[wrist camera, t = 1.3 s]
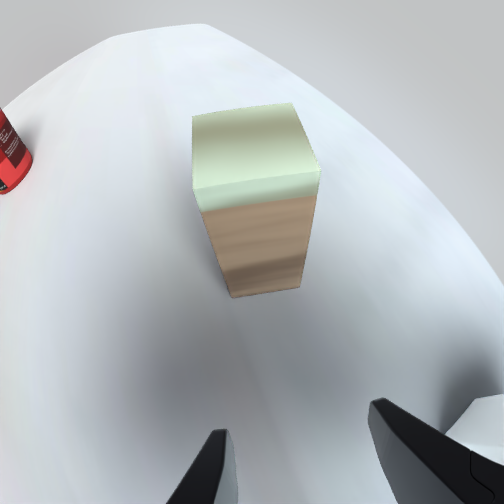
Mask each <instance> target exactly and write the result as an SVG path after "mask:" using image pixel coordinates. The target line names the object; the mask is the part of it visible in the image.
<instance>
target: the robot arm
mask: <svg viewBox="0 0 504 504" xmlns="http://www.w3.org/2000/svg"><path fill="white" fill-rule="evenodd" d="M368 425H369V428H370V431H371V435H372V438H373V441H374V444H375V448H376V451H377V454H378V458H379V461H380V464H381V466H382V469H383V471H384V473H385V476H386V478H387V480H388V482H389V484H390V487H391V489H392V491H393V493H394V496H395V498H396V500H397V503H398V504H504V465H501V464H499V463H497V462H494V461H492V460H490V459H488V458H486V457H484V456H482V455H480V454H478V453H476V452H475V451H473V450H471V451H470V449H469V448H467V447H466V446H464V445H462V444H460V443H458V442H457V441H455V440H453V439H452V438H450V437H448V436H446V435H445V434H443V433H441V432H440V431H438V430H436V429H435V428H433V427H431V426H430V425H428V424H426V423H425V422H423V421H421V420H420V419H418V418H416V417H415V416H413V415H411V414H410V413H408V412H407V411H405V410H403V409H402V408H400V407H399V406H397V405H395V404H394V403H392V402H391V401H389V400H388V399H386V398H379V399H376V400H373V401H371V403H370V407H369V413H368ZM166 504H238V486H237V476H236V465H235V454H234V447H233V443H232V440H231V437H230V435H229V432H228V430H227V429H217V430H213V431H212V432H211V434H210V435H209V437H208V439H207V440H206V442H205V444H204V445H203V447H202V449H201V450H200V452H199V453H198V455H197V457H196V458H195V460H194V461H193V463H192V464H191V466H190V468H189V469H188V471H187V472H186V474H185V475H184V477H183V479H182V480H181V482H180V483H179V485H178V486H177V488H176V489H175V491H174V492H173V494H172V495H171V497H170V498H169V500H168V501H167V503H166Z"/></svg>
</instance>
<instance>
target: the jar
mask: <svg viewBox="0 0 504 504" xmlns="http://www.w3.org/2000/svg"><path fill="white" fill-rule="evenodd" d="M445 435H446V436H448V437H450V438H452V439H453V440H455V441H457V442H458V443H460V444H462V445H464V446H466V447H467V448H469V449H470V451H471V450H473V451H475V452H476V453H478V454H480V455H482V456H484V457H486V458H488V459H490V460H492V461H494V462H497V463H499V464H501V465H504V394H499V395H494V396H488V397H482V398H476V399H475V400H474V401H473V402H472V403H471V405H470V406H469V407H468V408H467V409H466V411H465V412H464V413H463V414H462V415H461V417H460V418H459V419H458V420H457V421H456V422H455V424H454V425H453V426H452V427H451V428H450V429H449V430H448V431H447V432H446V434H445Z"/></svg>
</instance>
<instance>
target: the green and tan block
mask: <svg viewBox="0 0 504 504" xmlns="http://www.w3.org/2000/svg"><path fill="white" fill-rule="evenodd" d="M320 175H321V169H320V167H319V164H318V162H317V159H316V157H315V155H314V152H313V150H312V147H311V145H310V143H309V140H308V138H307V136H306V133H305V131H304V129H303V126H302V124H301V122H300V120H299V118H298V115H297V113H296V111H295V109H294V107H293V104H292V103H283V104H273V105H263V106H255V107H247V108H239V109H233V110H226V111H220V112H214V113H208V114H202V115H197V116H192V181H193V192H194V195H195V198H196V201H197V203H198V206H199V209H200V212H201V215H202V218H203V221H204V224H205V226H206V229H207V232H208V235H209V238H210V240H211V243H212V246H213V249H214V251H215V254H216V257H217V260H218V262H219V265H220V268H221V271H222V273H223V276H224V279H225V281H226V284H227V287H228V289H229V292H230V295H231V297H232V298H236V297H243V296H249V295H256V294H262V293H268V292H274V291H281V290H287V289H293V288H298V287H300V283H301V278H302V273H303V269H304V264H305V259H306V254H307V248H308V243H309V238H310V233H311V227H312V222H313V216H314V211H315V205H316V199H317V193H318V187H319V181H320Z"/></svg>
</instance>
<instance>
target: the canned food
mask: <svg viewBox="0 0 504 504" xmlns="http://www.w3.org/2000/svg"><path fill="white" fill-rule="evenodd" d="M31 164H32V157H31V154H30V152H29V151H28V149H27V148H26V146H25V145H24V144H23V142H22V141H21V139H20V138H19V136H18V135H17V133H16V131H15V130H14V128H13V127H12V125H11V124H10V122H9V120H8V119H7V117H6V116H5V114H4V113H3V111H2V109H1V108H0V194H6V193H8V192H10V191H11V190H12V189H14V188H15V187H16V186H17V185H18V184H19V183H20V182H21V181H22V180H23V178H24V177H25V176H26V174H27V173H28V171H29V169H30V167H31Z"/></svg>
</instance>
